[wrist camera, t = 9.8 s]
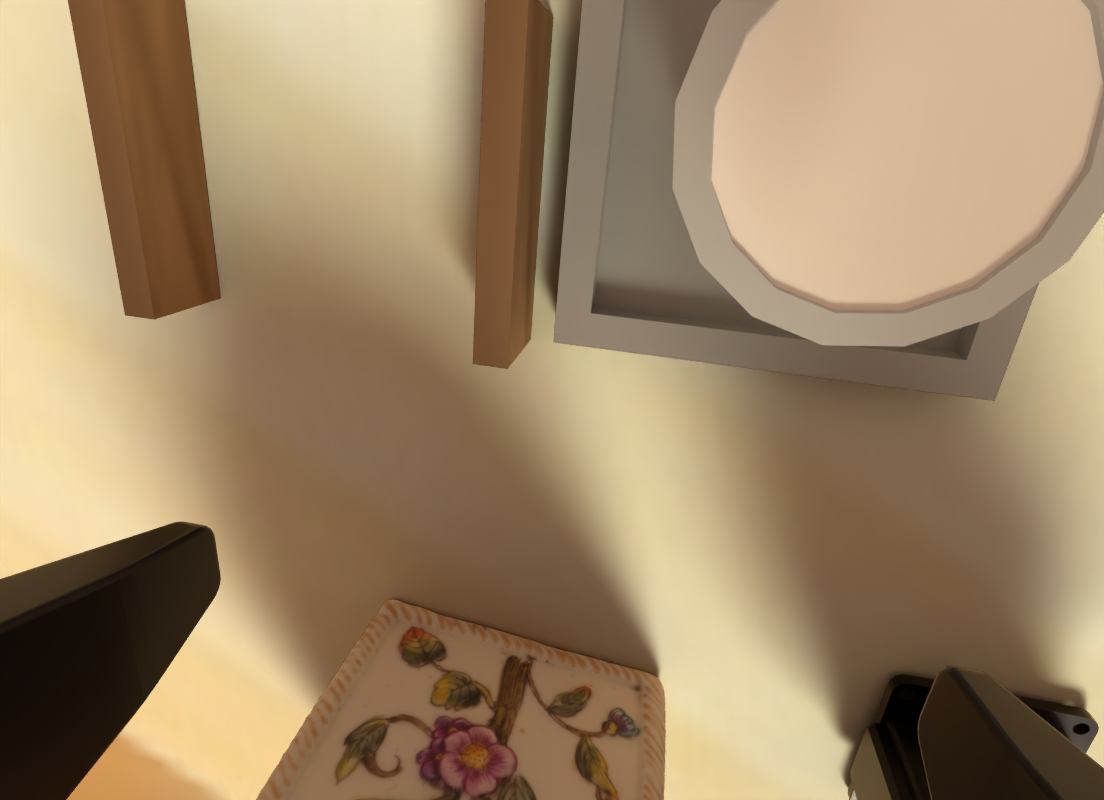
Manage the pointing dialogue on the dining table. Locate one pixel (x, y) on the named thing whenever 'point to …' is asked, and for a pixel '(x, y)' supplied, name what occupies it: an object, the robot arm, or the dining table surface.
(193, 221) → the wooden pieces
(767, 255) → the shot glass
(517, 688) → the decorative jar
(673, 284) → the tray
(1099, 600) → the dining table surface
